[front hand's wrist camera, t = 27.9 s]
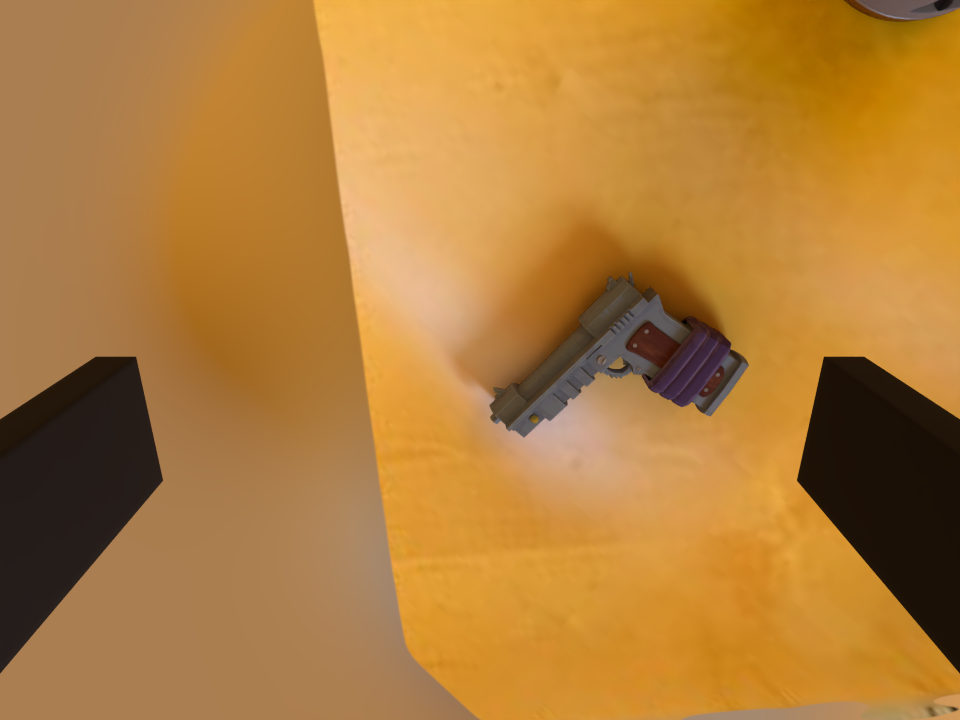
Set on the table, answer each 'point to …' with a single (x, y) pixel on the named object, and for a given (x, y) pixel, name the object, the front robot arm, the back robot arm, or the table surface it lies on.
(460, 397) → the table surface
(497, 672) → the table surface
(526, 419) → the toy gun
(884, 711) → the table surface
